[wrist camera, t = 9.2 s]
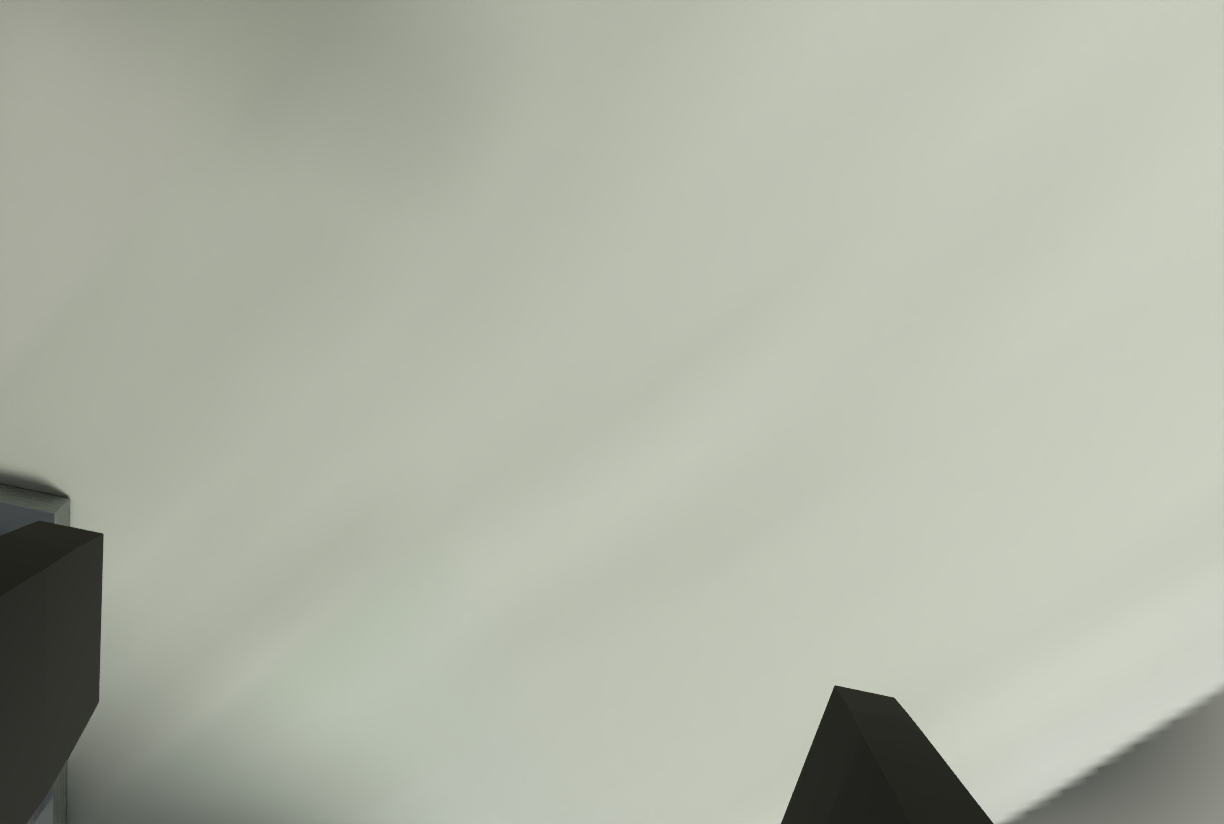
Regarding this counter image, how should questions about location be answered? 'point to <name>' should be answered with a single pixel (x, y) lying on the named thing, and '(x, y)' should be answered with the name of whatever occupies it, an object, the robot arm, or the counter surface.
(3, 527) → the panel
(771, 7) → the counter surface
